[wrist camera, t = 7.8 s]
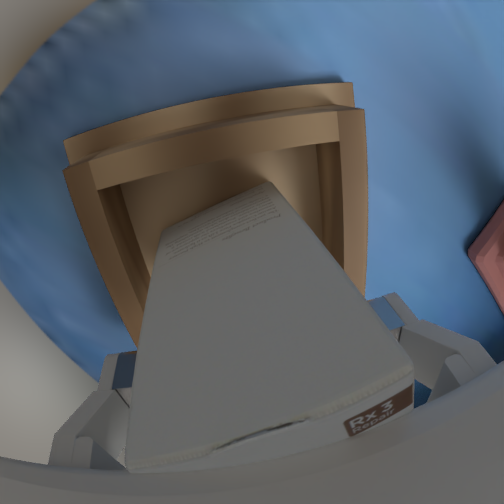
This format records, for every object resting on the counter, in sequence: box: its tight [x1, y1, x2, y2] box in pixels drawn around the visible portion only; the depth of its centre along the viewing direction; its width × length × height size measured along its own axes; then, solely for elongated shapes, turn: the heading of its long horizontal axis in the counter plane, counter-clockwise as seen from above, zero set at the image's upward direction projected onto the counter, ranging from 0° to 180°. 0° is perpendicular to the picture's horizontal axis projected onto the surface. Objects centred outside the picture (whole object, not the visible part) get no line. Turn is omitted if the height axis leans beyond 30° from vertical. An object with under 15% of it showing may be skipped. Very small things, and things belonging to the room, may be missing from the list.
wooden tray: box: [62, 82, 368, 349], centre depth 15 cm, size 14×14×4 cm
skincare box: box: [125, 181, 415, 473], centre depth 11 cm, size 6×4×12 cm
